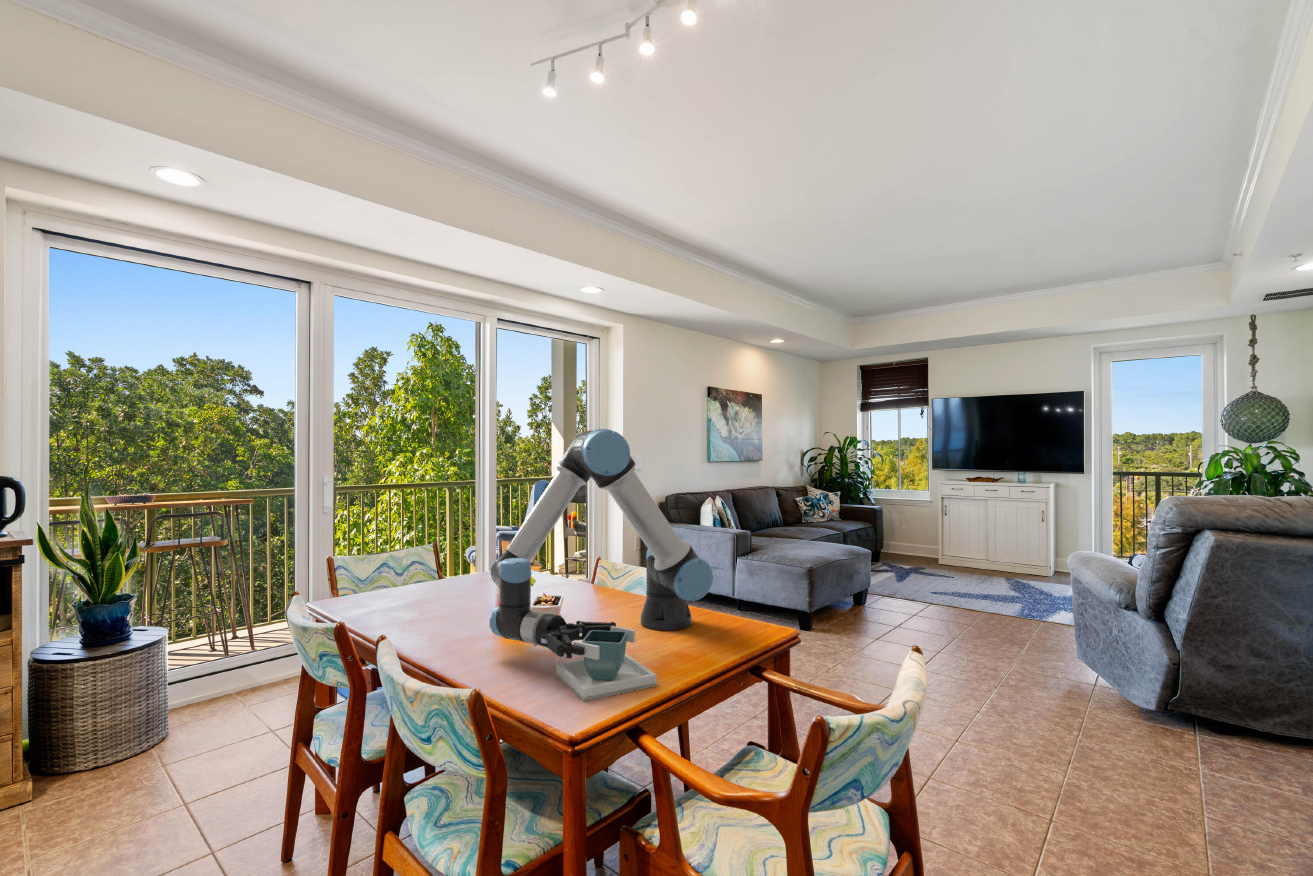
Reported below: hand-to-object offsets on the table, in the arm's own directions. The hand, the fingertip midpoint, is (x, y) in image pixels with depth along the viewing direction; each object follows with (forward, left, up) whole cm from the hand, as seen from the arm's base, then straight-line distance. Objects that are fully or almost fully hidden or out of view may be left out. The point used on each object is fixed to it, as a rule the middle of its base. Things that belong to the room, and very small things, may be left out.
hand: (617, 644), depth 134 cm
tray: (+2, -3, -8) cm, 9 cm away
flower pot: (+2, -3, -8) cm, 9 cm away
